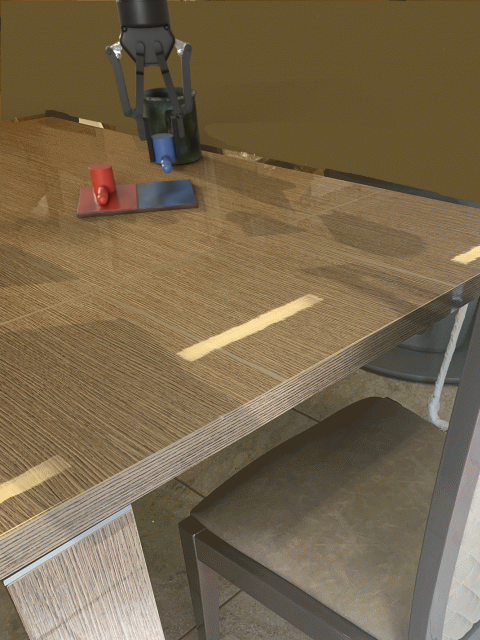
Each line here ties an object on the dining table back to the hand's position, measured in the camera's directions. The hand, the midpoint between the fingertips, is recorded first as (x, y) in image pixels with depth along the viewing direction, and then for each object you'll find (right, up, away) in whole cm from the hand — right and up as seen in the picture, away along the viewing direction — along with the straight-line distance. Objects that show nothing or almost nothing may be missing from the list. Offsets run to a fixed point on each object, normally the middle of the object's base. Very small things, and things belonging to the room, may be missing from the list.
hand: (165, 158), depth 110 cm
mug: (-2, +7, +18) cm, 19 cm away
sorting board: (-4, -7, -1) cm, 9 cm away
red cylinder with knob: (-10, -7, -2) cm, 12 cm away
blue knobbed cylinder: (+1, -2, -2) cm, 3 cm away
